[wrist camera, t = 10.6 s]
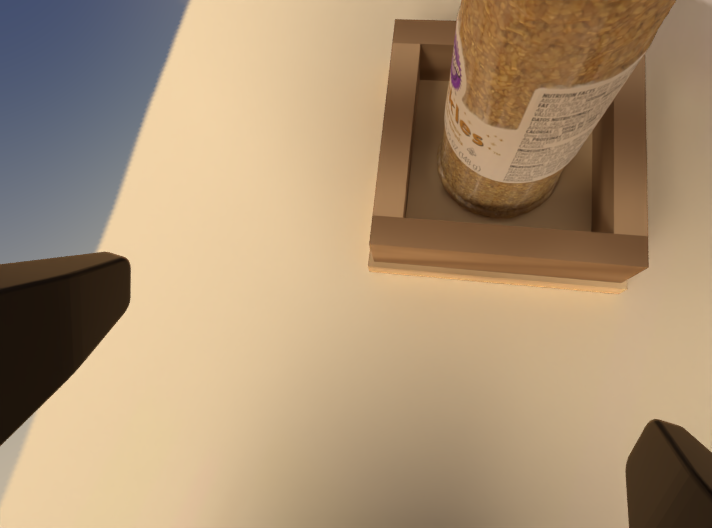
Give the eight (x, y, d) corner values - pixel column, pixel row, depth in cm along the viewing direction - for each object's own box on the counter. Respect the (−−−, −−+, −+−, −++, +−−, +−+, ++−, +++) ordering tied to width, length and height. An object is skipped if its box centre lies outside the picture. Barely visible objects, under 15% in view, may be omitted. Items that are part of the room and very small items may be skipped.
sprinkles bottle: (421, 130, 20) (436, -333, 8) (536, 97, 20) (753, -435, 7) (457, 238, 19) (549, -91, 6) (579, 204, 19) (931, -206, 6)
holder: (618, 293, 19) (655, 274, 16) (369, 271, 20) (362, 249, 17) (618, 73, 21) (650, 21, 18) (393, 64, 22) (390, 14, 19)
